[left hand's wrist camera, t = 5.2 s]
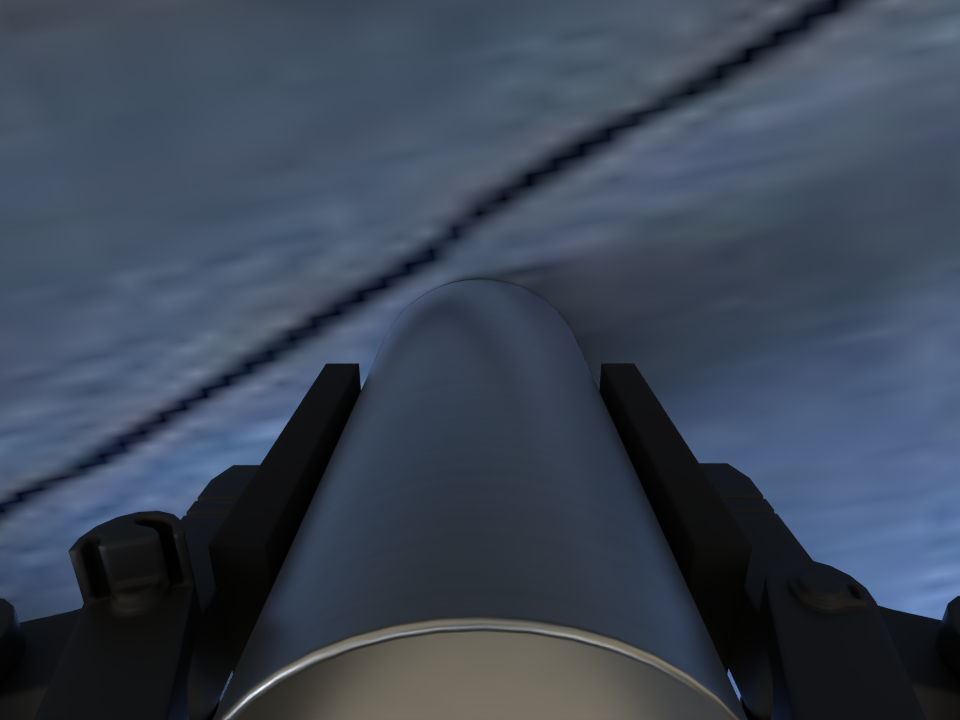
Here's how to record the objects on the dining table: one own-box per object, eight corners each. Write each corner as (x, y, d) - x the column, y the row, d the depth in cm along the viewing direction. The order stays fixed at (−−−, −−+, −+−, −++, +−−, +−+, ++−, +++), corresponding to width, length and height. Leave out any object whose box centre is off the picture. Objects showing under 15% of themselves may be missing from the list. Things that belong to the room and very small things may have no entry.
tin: (621, 397, 17) (878, 887, 6) (460, 501, 18) (431, 1064, 7) (502, 234, 15) (559, 502, 4) (334, 360, 16) (52, 812, 6)
